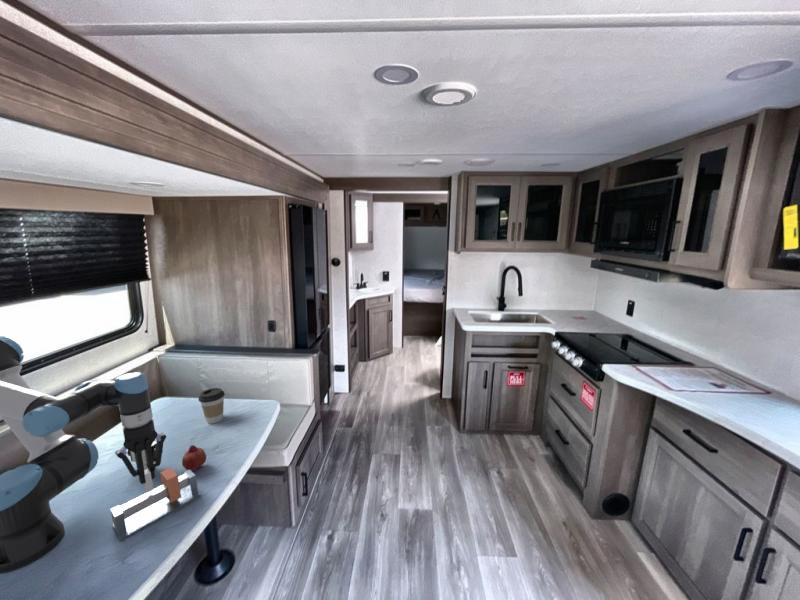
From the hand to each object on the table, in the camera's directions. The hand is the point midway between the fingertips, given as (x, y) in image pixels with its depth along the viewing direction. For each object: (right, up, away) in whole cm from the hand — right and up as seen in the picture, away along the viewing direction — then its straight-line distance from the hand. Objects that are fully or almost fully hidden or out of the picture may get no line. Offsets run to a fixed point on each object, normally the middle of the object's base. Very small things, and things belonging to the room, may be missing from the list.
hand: (149, 489), depth 107 cm
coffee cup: (-11, +1, +59) cm, 60 cm away
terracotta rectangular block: (+4, -5, +5) cm, 8 cm away
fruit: (+1, -5, +23) cm, 23 cm away
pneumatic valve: (-18, -5, +23) cm, 30 cm away
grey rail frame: (+1, -8, +3) cm, 9 cm away
